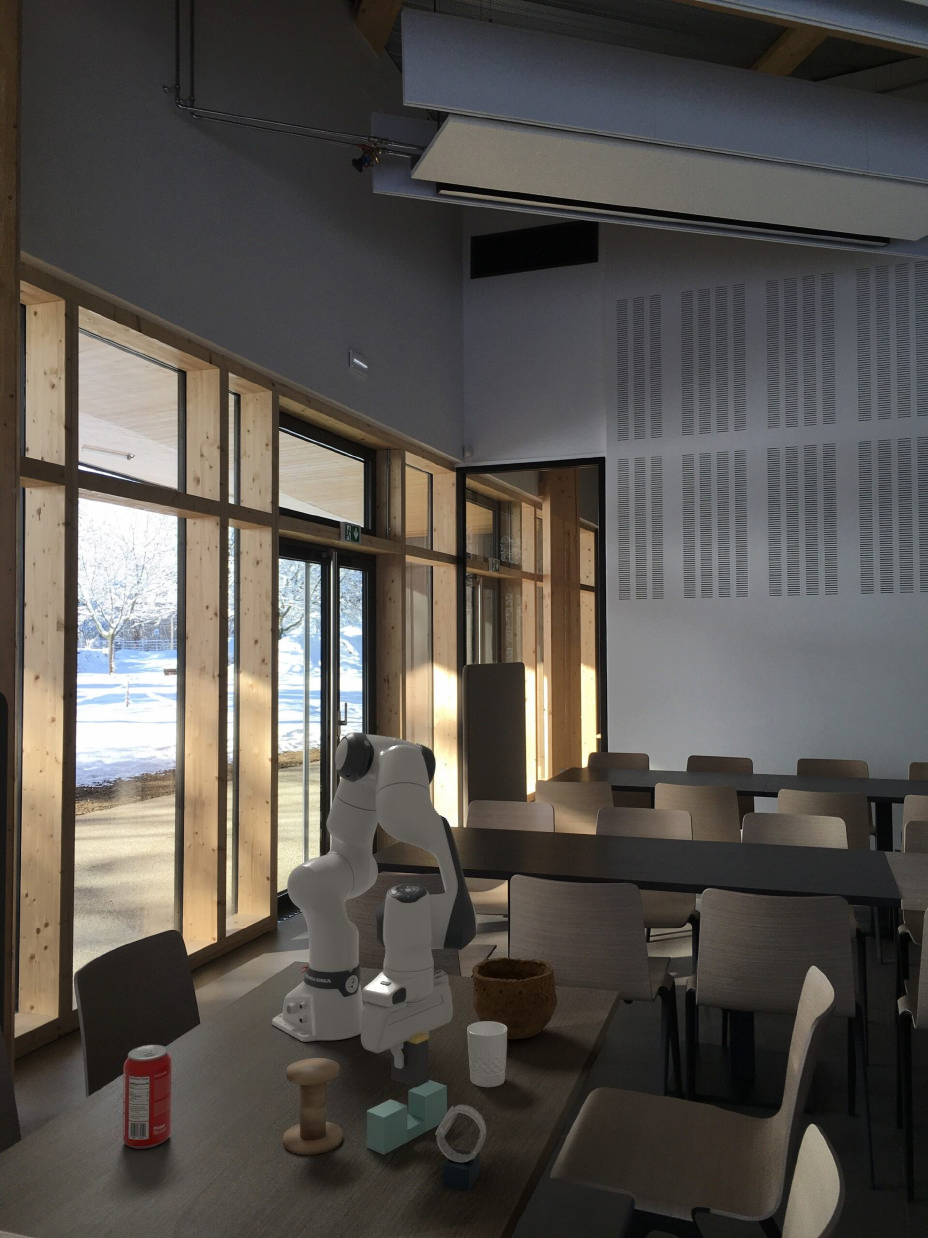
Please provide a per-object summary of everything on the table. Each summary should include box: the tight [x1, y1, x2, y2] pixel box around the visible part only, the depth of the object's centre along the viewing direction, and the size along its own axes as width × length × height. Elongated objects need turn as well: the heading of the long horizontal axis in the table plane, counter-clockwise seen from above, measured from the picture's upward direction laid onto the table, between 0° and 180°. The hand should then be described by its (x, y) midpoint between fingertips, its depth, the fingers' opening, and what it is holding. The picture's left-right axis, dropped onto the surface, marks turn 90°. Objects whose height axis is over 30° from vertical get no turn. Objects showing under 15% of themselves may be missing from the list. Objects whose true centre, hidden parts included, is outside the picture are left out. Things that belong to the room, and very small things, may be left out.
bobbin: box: [282, 1057, 343, 1156], centre depth 166 cm, size 10×10×12 cm
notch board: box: [366, 1079, 448, 1155], centre depth 168 cm, size 4×16×6 cm, turn 140°
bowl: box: [471, 956, 559, 1040], centre depth 214 cm, size 19×19×15 cm
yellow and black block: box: [390, 1033, 429, 1088], centre depth 169 cm, size 6×3×8 cm, turn 50°
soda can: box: [122, 1044, 173, 1150], centre depth 166 cm, size 8×8×15 cm
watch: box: [434, 1104, 488, 1191], centre depth 153 cm, size 6×8×11 cm
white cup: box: [466, 1021, 508, 1088], centre depth 190 cm, size 8×8×10 cm
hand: (409, 1063), depth 169 cm, fingers closed on yellow and black block, 3 cm apart
